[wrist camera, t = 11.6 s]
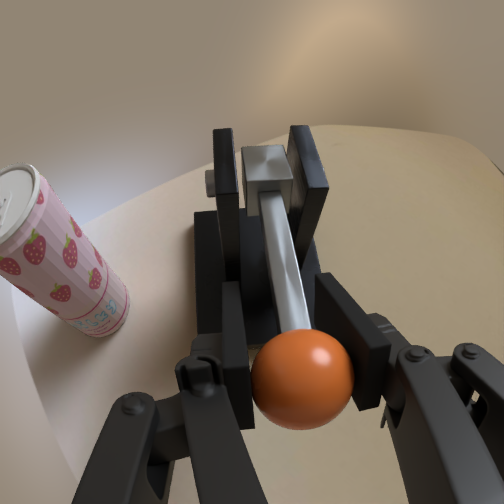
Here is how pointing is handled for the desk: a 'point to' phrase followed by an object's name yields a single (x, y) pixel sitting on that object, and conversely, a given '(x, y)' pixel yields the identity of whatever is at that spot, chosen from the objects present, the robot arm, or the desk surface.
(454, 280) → the desk surface
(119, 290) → the beverage can
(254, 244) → the switch bracket
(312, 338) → the switch lever
